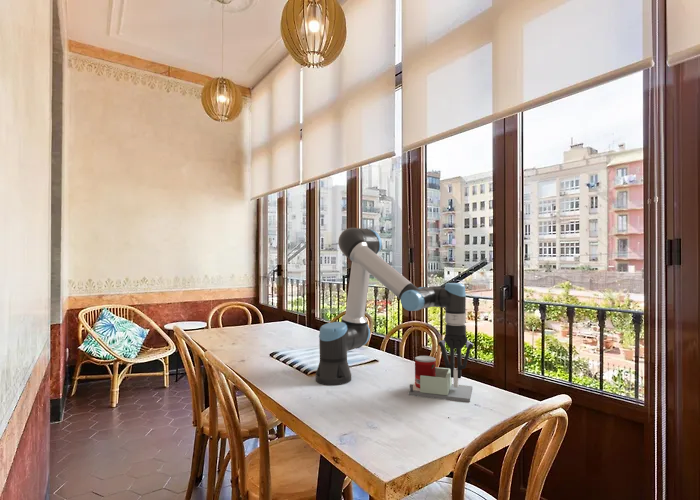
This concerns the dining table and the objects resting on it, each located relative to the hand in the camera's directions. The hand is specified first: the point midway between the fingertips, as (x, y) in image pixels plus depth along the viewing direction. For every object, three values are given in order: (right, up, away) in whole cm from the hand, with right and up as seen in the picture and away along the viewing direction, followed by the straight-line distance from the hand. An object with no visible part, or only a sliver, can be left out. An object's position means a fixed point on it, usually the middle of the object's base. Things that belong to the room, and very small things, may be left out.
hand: (456, 386), depth 157 cm
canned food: (-11, -2, +4) cm, 12 cm away
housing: (-7, -1, +2) cm, 7 cm away
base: (-5, -3, +2) cm, 6 cm away
